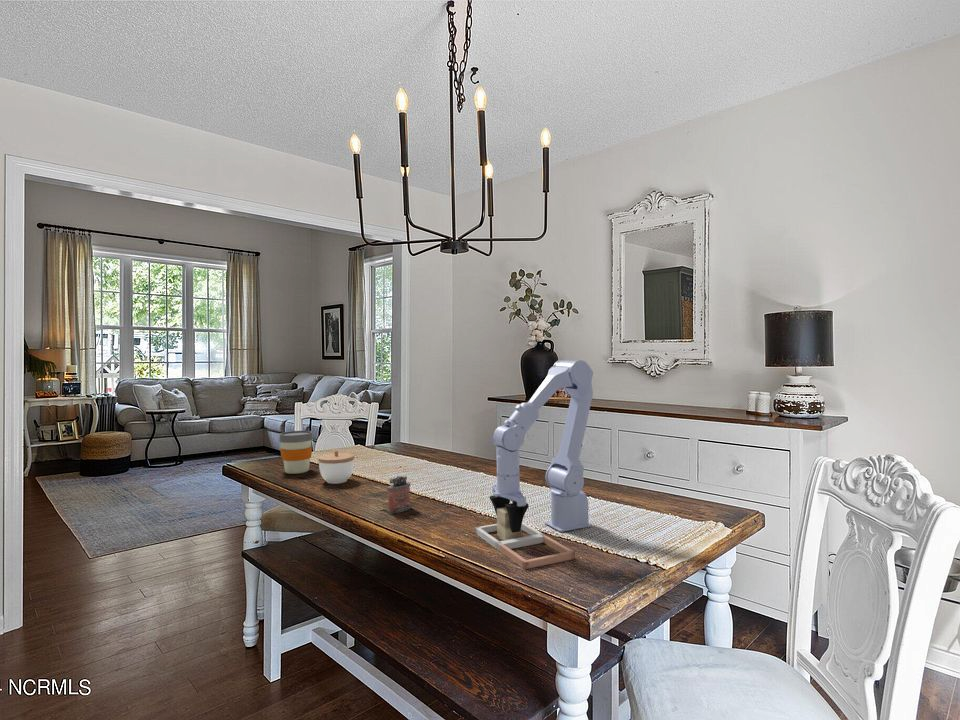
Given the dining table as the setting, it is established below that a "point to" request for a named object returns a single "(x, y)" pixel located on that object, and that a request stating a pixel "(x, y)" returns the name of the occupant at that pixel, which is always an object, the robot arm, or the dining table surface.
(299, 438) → the reusable coffee cup
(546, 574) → the dining table surface
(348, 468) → the lidded bowl
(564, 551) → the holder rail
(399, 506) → the lighter
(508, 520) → the maple block
